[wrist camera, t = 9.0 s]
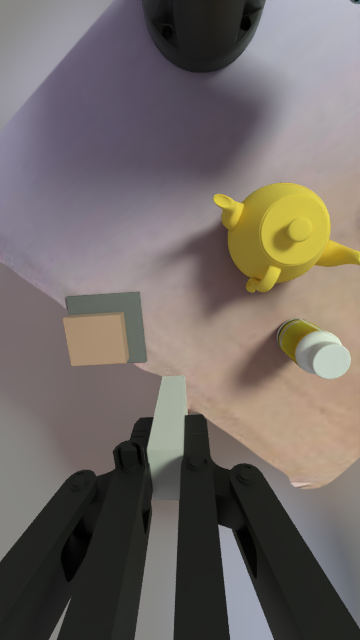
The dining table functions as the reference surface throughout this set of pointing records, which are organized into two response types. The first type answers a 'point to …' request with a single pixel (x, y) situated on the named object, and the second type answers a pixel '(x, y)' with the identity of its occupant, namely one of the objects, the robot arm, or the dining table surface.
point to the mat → (116, 303)
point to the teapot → (280, 235)
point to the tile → (96, 338)
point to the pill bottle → (313, 348)
